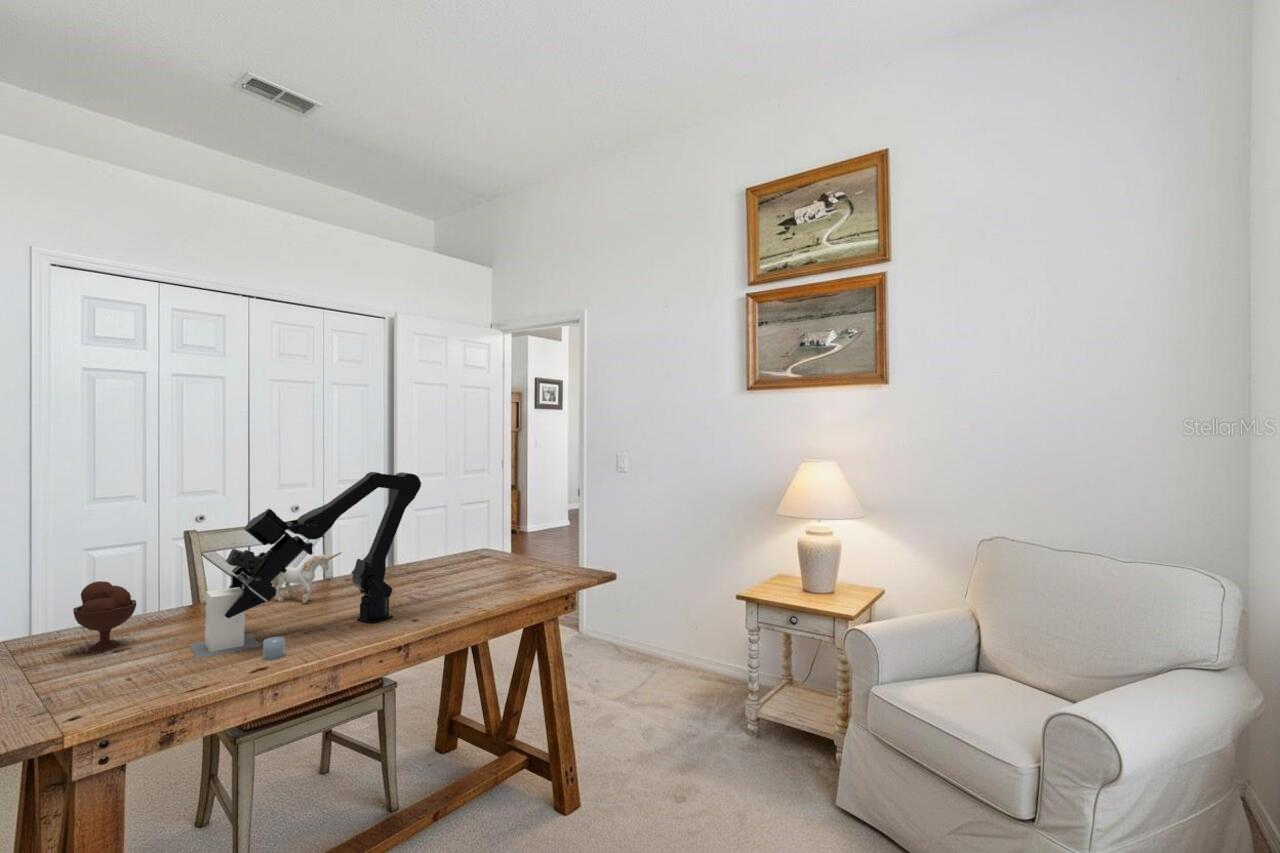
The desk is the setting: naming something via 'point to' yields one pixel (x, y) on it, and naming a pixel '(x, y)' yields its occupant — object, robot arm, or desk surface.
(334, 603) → the desk surface
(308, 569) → the unicorn figurine
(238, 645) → the rectangular block
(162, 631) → the desk surface
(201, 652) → the mat
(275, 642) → the light blue cylinder
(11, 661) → the desk surface
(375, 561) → the robot arm
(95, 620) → the ice cream bowl
